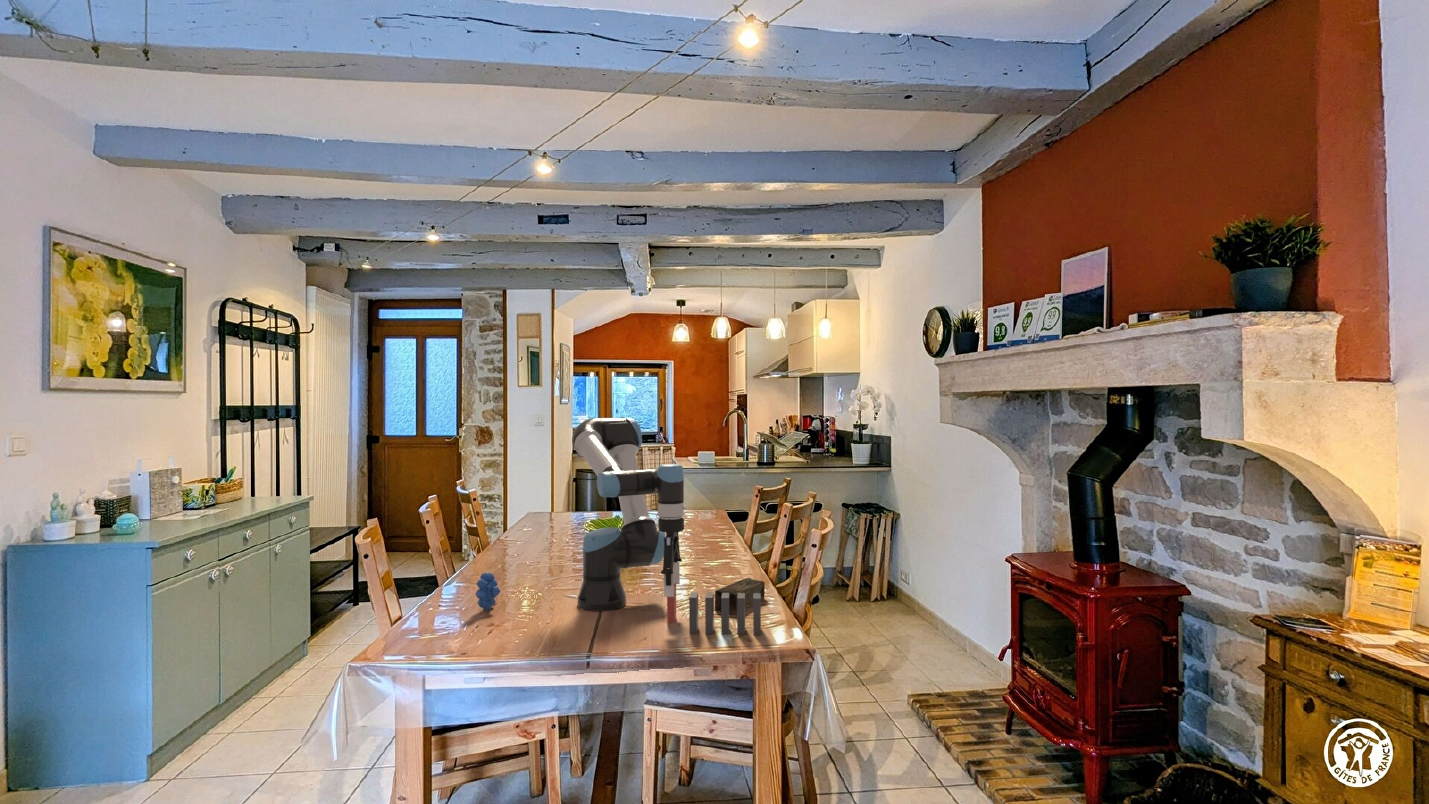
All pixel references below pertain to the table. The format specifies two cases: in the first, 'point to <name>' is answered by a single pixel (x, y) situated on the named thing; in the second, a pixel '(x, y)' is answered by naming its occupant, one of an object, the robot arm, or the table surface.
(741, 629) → the domino
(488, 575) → the grapes
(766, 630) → the table surface
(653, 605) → the table surface
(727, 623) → the domino
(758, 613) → the domino
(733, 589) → the beverage carton
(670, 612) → the domino red
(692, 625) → the domino
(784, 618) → the table surface
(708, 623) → the domino
